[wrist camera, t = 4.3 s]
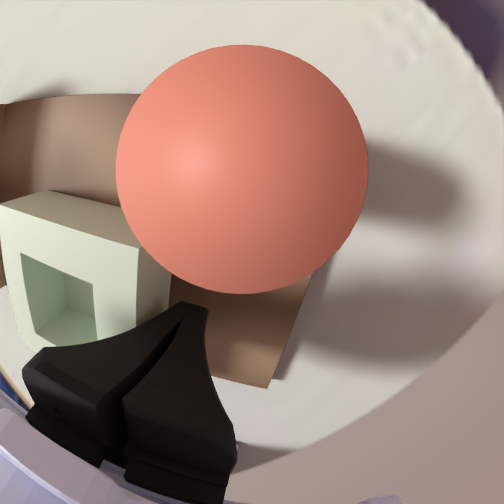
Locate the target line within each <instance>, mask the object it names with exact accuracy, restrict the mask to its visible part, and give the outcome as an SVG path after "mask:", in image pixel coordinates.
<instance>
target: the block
mask: <svg viewBox="0 0 504 504" xmlns="http://www.w3.org/2000/svg"><path fill="white" fill-rule="evenodd" d="M0 240H1V249H2V257H3V264H4V270H5V276H6V282H7V287H8V292H9V296H10V301H11V305H12V309H13V313H14V317H15V320H16V324H17V327H18V331H19V334H20V337H21V340H22V343H23V345H24V346H26V347H27V348H28V349H30V350H31V351H33V352H34V353H36V354H37V353H38V352H39V351H40V350H41V349H42V348H43V347H56V346H70V345H78V344H84V343H89V342H94V341H98V340H101V339H105V338H109V337H112V336H115V335H118V334H121V333H123V332H126V331H128V330H131V329H133V328H135V327H137V326H139V325H141V324H143V323H145V322H147V321H149V320H150V319H152V318H154V317H155V316H157V315H159V314H161V313H162V312H164V311H165V310H167V309H168V304H169V294H170V284H171V275H172V273H171V272H169V271H168V270H166V269H165V268H164V267H163V266H162V265H160V264H159V263H158V262H157V261H156V260H154V259H153V257H152V256H151V255H150V254H149V253H148V252H147V251H146V250H145V249H144V248H143V246H142V245H141V244H140V242H139V241H138V240H137V238H136V237H135V235H134V233H133V232H132V230H131V228H130V226H129V225H128V223H127V220H126V218H125V215H124V213H123V211H122V207H118V206H113V205H109V204H105V203H101V202H96V201H92V200H88V199H83V198H79V197H75V196H70V195H66V194H62V193H57V192H53V191H48V190H46V191H42V192H38V193H35V194H31V195H27V196H24V197H20V198H17V199H14V200H10V201H7V202H4V203H1V204H0Z"/></svg>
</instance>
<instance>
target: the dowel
mask: <svg viewBox="0 0 504 504" xmlns="http://www.w3.org/2000/svg"><path fill="white" fill-rule="evenodd" d="M367 182H368V155H367V149H366V144H365V139H364V135H363V132H362V129H361V126H360V124H359V121H358V119H357V117H356V115H355V113H354V111H353V109H352V107H351V105H350V104H349V102H348V101H347V99H346V98H345V97H344V95H343V94H342V93H341V91H340V90H339V89H338V88H337V87H336V86H335V85H334V84H333V83H332V82H331V80H330V79H329V78H328V77H326V76H325V75H324V74H323V73H321V72H320V71H319V70H317V69H316V68H315V67H313V66H312V65H310V64H308V63H307V62H305V61H303V60H301V59H300V58H298V57H296V56H293V55H291V54H288V53H285V52H283V51H280V50H276V49H272V48H268V47H263V46H254V45H229V46H223V47H217V48H212V49H208V50H205V51H202V52H199V53H196V54H194V55H191V56H189V57H187V58H185V59H183V60H181V61H179V62H177V63H176V64H174V65H173V66H171V67H170V68H168V69H167V70H165V71H164V72H163V73H162V74H160V75H159V76H158V77H157V78H156V79H155V80H154V81H153V82H152V83H151V84H150V85H149V86H148V87H147V88H146V89H145V90H144V91H143V93H142V94H141V95H140V97H139V98H138V100H137V101H136V102H135V104H134V105H133V107H132V109H131V111H130V113H129V115H128V117H127V119H126V121H125V124H124V126H123V129H122V132H121V135H120V139H119V143H118V148H117V155H116V184H117V191H118V197H119V200H120V204H121V207H122V211H123V213H124V215H125V218H126V220H127V223H128V225H129V226H130V228H131V230H132V232H133V233H134V235H135V237H136V238H137V240H138V241H139V242H140V244H141V245H142V246H143V248H144V249H145V250H146V251H147V252H148V253H149V254H150V255H151V256H152V257H153V259H154V260H156V261H157V262H158V263H159V264H160V265H162V266H163V267H164V268H165V269H166V270H168V271H169V272H171V273H173V274H174V275H176V276H177V277H179V278H181V279H183V280H185V281H187V282H189V283H191V284H193V285H196V286H199V287H202V288H205V289H208V290H213V291H217V292H222V293H232V294H253V293H260V292H266V291H271V290H275V289H278V288H282V287H285V286H288V285H290V284H292V283H294V282H297V281H299V280H301V279H303V278H304V277H306V276H308V275H309V274H311V273H313V272H314V271H316V270H317V269H318V268H319V267H321V266H322V265H323V264H324V263H326V262H327V261H328V260H329V259H330V258H331V257H332V256H333V255H334V254H335V253H336V252H337V251H338V250H339V248H340V247H341V246H342V244H343V243H344V242H345V240H346V239H347V238H348V236H349V235H350V233H351V231H352V229H353V227H354V226H355V224H356V222H357V220H358V217H359V214H360V212H361V209H362V206H363V203H364V199H365V195H366V190H367Z"/></svg>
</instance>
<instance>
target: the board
mask: <svg viewBox="0 0 504 504" xmlns="http://www.w3.org/2000/svg"><path fill="white" fill-rule="evenodd" d="M140 95H141V94H87V95H70V96H59V97H49V98H41V99H34V100H27V101H21V102H16V103H10V104H0V204H1V203H4V202H7V201H10V200H14V199H17V198H20V197H24V196H27V195H31V194H35V193H38V192H42V191H46V190H48V191H53V192H57V193H62V194H66V195H70V196H75V197H79V198H83V199H88V200H92V201H96V202H101V203H105V204H109V205H113V206H118V207H121V204H120V200H119V197H118V191H117V184H116V155H117V148H118V143H119V139H120V135H121V132H122V129H123V126H124V124H125V121H126V119H127V117H128V115H129V113H130V111H131V109H132V107H133V105H134V104H135V102H136V101H137V100H138V98H139V97H140ZM311 275H312V273H311V274H309V275H308V276H306V277H304V278H303V279H301V280H299V281H297V282H294V283H292V284H290V285H288V286H285V287H282V288H278V289H275V290H271V291H266V292H260V293H253V294H232V293H222V292H217V291H213V290H208V289H205V288H202V287H199V286H196V285H193V284H191V283H189V282H187V281H185V280H183V279H181V278H179V277H177V276H176V275H174V274H173V273H172V275H171V284H170V294H169V304H168V308H170V307H172V306H173V305H175V304H176V303H178V302H180V301H185V302H188V303H191V304H195V305H198V306H202V307H205V308H207V309H208V311H209V313H208V318H207V323H206V329H205V348H206V356H207V362H208V366H209V371H210V374H211V376H214V377H218V378H222V379H226V380H230V381H234V382H238V383H242V384H247V385H251V386H256V387H260V388H265V389H267V388H268V386H269V383H270V381H271V379H272V376H273V374H274V372H275V369H276V367H277V364H278V362H279V360H280V357H281V355H282V352H283V350H284V347H285V345H286V342H287V340H288V337H289V335H290V332H291V330H292V327H293V324H294V322H295V319H296V317H297V314H298V311H299V309H300V306H301V303H302V300H303V298H304V295H305V292H306V289H307V287H308V284H309V281H310V278H311ZM5 285H7V282H6V276H5V270H4V264H3V257H2V249H1V240H0V288H2V287H4V286H5Z"/></svg>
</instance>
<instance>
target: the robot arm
mask: <svg viewBox="0 0 504 504" xmlns="http://www.w3.org/2000/svg"><path fill="white" fill-rule="evenodd" d="M208 313H209V311H208V309H207V308H205V307H202V306H198V305H195V304H191V303H188V302H185V301H180V302H178V303H176V304H175V305H173V306H172V307H170V308H168V309H167V310H165V311H164V312H162V313H161V314H159V315H157V316H155V317H154V318H152V319H150V320H149V321H147V322H145V323H143V324H141V325H139V326H137V327H135V328H133V329H131V330H128V331H126V332H123V333H121V334H118V335H115V336H112V337H109V338H105V339H101V340H98V341H94V342H89V343H84V344H78V345H70V346H56V347H43V348H42V349H41V350H40V351H39V352H38V353H37V354H36V355H35V356H34V357H33V358H32V359H31V360H30V361H29V362H28V363H27V364H26V365H25V366H24V367H23V369H22V377H23V380H24V383H25V385H26V387H27V389H28V391H29V393H30V395H31V397H32V399H33V401H34V403H35V404H34V406H33V407H32V408H31V409H30V411H29V412H27V411H26V410H24V409H23V408H22V407H21V406H19V405H18V404H17V403H16V402H14V401H13V400H12V399H11V398H10V397H9V396H7V395H6V394H5V393H4V392H3V391H2V390H1V389H0V504H247V503H240V502H234V501H228V500H224V495H225V490H226V487H227V485H228V480H229V475H230V473H231V471H232V470H233V468H234V466H235V464H236V462H237V450H238V445H237V444H236V439H235V434H234V429H233V424H232V422H231V421H230V419H229V417H228V415H227V414H226V412H225V410H224V408H223V406H222V404H221V402H220V399H219V397H218V395H217V392H216V389H215V387H214V384H213V381H212V378H211V374H210V371H209V366H208V362H207V356H206V348H205V329H206V323H207V318H208ZM359 504H401V503H400V499H399V494H393V495H387V496H380V497H374V498H370V499H367V500H364V501H362V502H360V503H359Z"/></svg>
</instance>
